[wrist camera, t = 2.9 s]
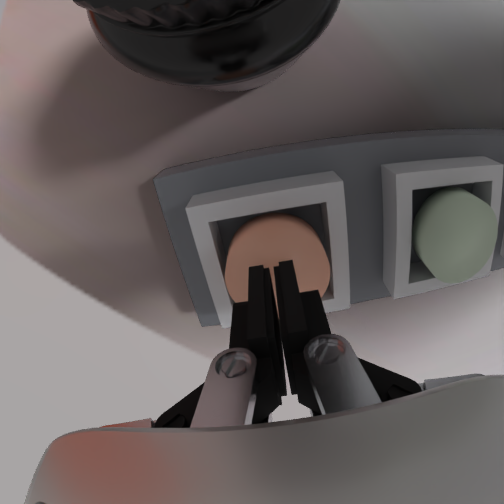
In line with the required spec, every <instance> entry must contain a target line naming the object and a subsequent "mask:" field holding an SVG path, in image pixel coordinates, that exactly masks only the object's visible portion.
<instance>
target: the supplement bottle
mask: <svg viewBox="0 0 504 504" xmlns="http://www.w3.org/2000/svg"><path fill="white" fill-rule="evenodd" d="M73 1H74V2H75V3H76V4H77V5H78V6H81V7H83V8H86V10H87V14H88V18H89V21H90V24H91V27H92V29H93V31H94V33H95V35H96V37H97V38H98V40H99V41H100V43H101V44H102V45H103V47H104V48H105V49H106V50H107V51H108V52H109V53H110V54H111V55H112V56H113V57H114V58H115V59H116V60H118V61H119V62H120V63H122V64H123V65H125V66H126V67H128V68H130V69H131V70H133V71H135V72H137V73H140V74H142V75H144V76H147V77H149V78H152V79H155V80H158V81H163V82H166V83H170V84H175V85H182V86H188V87H195V88H201V89H208V90H214V91H222V92H238V91H246V90H250V89H254V88H257V87H260V86H263V85H265V84H267V83H269V82H271V81H273V80H274V79H276V78H277V77H279V76H280V75H282V74H283V73H284V72H285V71H286V70H288V69H289V68H290V67H291V66H292V65H293V64H294V63H295V62H296V60H297V59H298V58H299V57H300V56H301V55H302V54H303V53H304V52H305V51H306V50H307V49H308V48H309V47H310V46H311V45H312V44H313V43H314V42H315V41H316V40H317V39H318V38H319V37H320V36H321V34H322V33H323V32H324V30H325V29H326V28H327V26H328V25H329V23H330V22H331V20H332V18H333V16H334V14H335V13H336V11H337V8H338V6H339V3H340V0H73Z"/></svg>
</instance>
